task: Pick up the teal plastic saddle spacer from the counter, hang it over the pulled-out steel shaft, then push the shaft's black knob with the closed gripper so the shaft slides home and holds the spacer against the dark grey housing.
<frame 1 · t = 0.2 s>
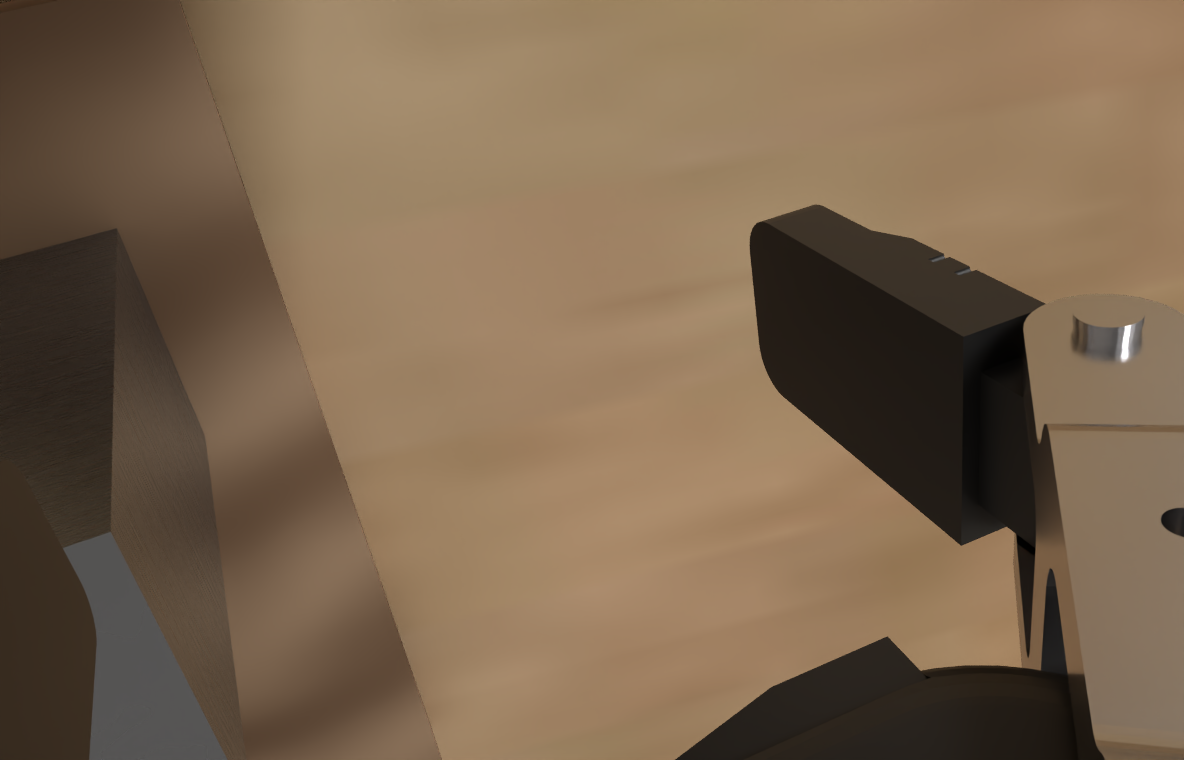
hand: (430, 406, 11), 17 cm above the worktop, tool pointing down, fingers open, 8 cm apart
base board: (42, 528, 29), on the worktop
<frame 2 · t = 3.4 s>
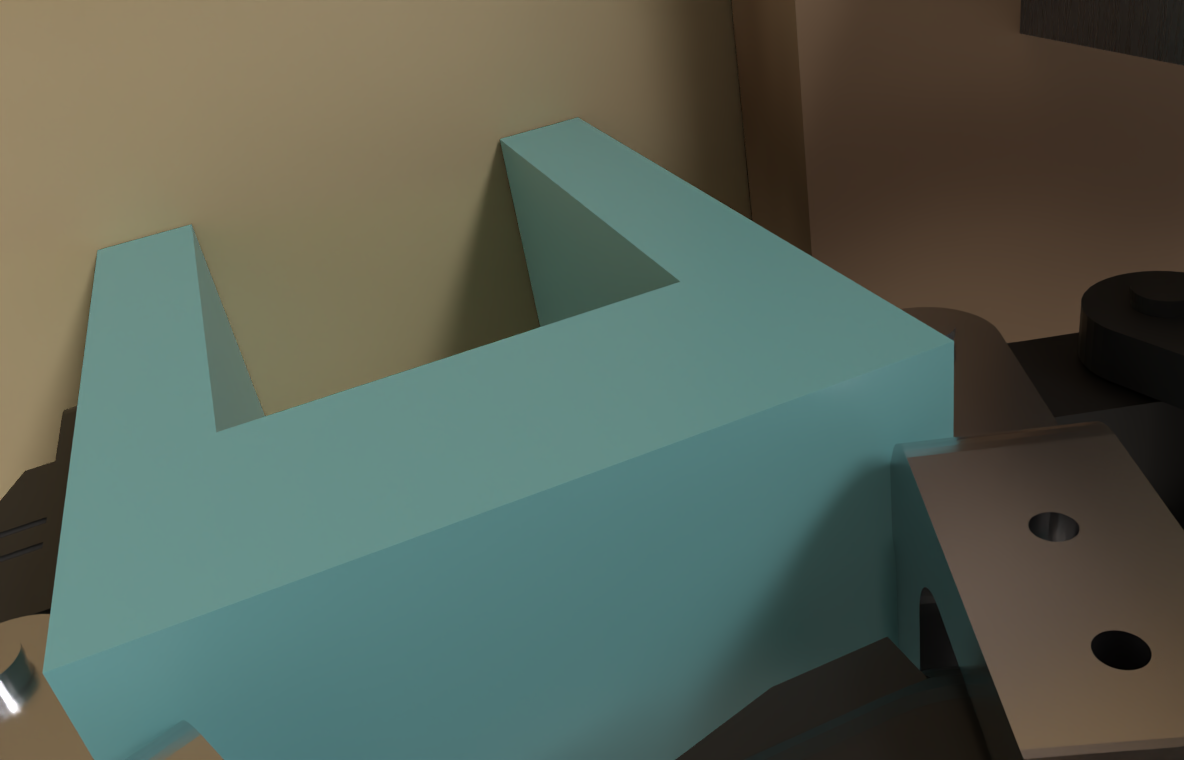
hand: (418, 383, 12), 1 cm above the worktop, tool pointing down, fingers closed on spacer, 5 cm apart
spacer: (396, 333, 13), on the worktop, touching gripper
when the fingers open (7 cm above the worktop, at t = 9.2 s): spacer drops 1 cm, resting on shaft.
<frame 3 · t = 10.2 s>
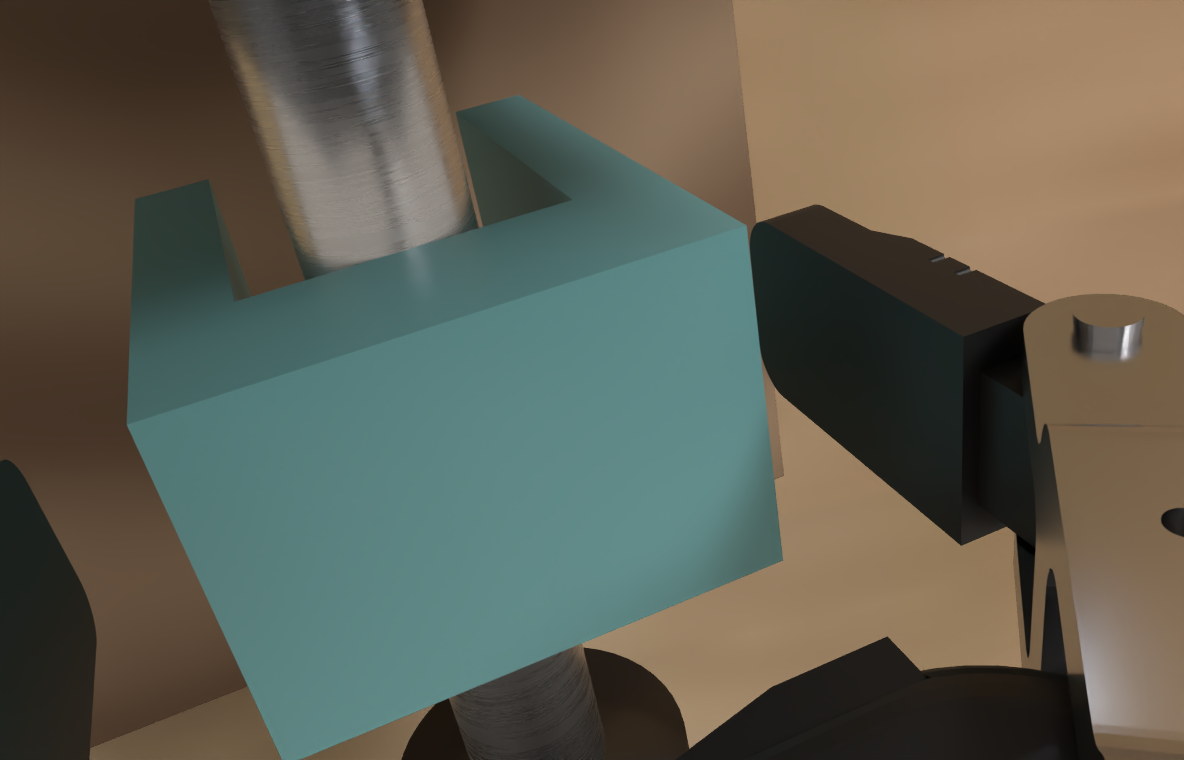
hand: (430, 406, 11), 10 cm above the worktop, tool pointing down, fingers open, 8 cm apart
spacer: (373, 272, 16), point 4 cm above the worktop, touching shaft
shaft: (445, 431, 13), point 9 cm above the worktop, slide at 8.0 cm, touching spacer
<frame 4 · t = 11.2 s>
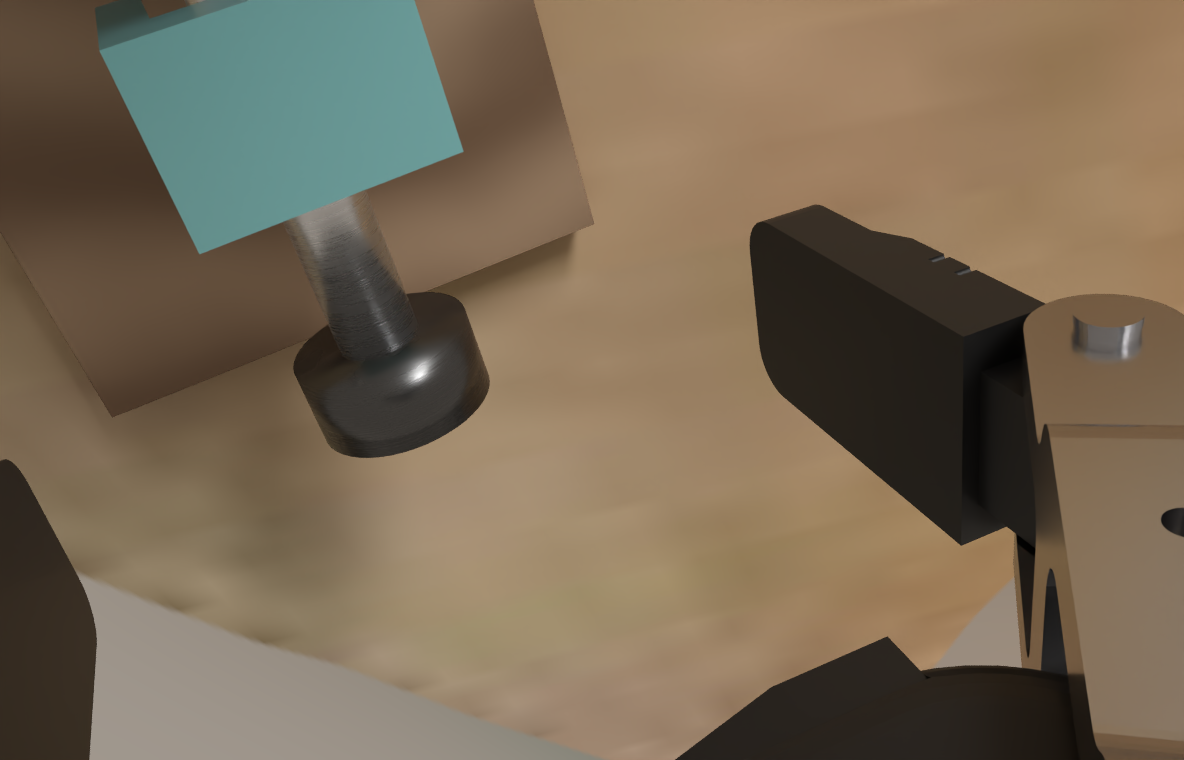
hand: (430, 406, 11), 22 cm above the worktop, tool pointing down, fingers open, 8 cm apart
spacer: (248, 53, 26), point 4 cm above the worktop, touching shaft
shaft: (285, 113, 23), point 9 cm above the worktop, slide at 8.0 cm, touching spacer
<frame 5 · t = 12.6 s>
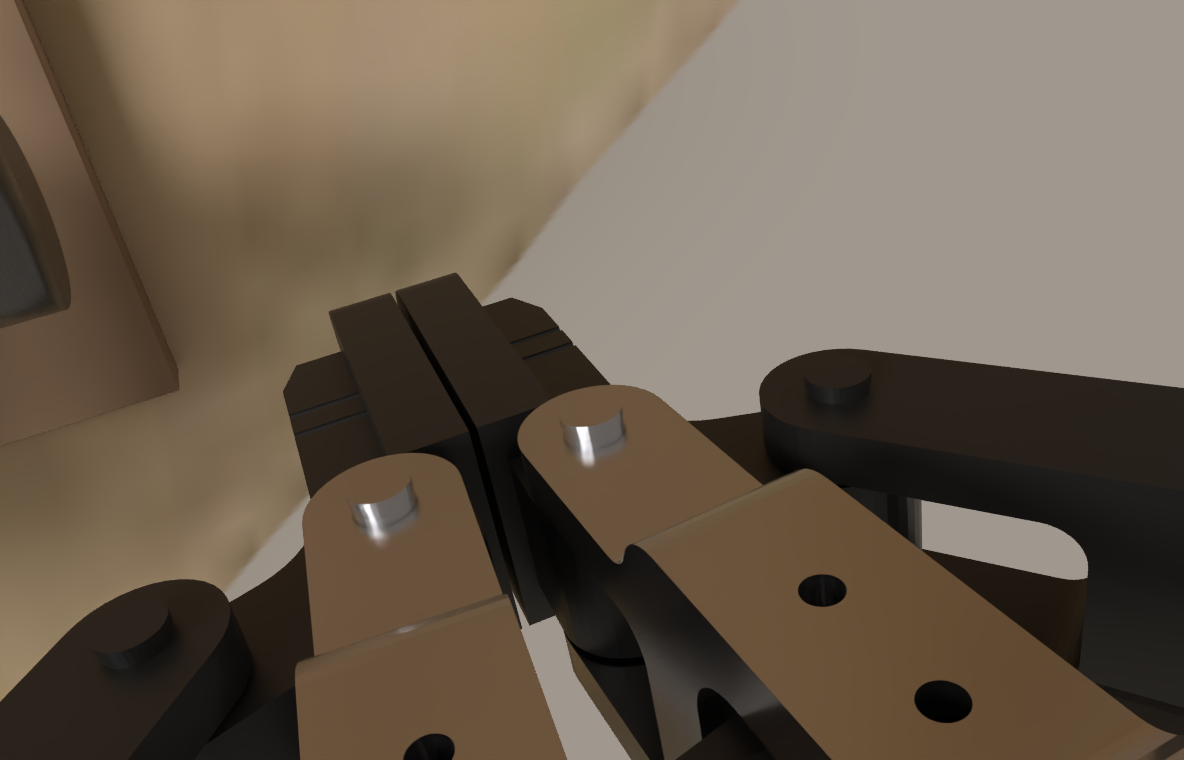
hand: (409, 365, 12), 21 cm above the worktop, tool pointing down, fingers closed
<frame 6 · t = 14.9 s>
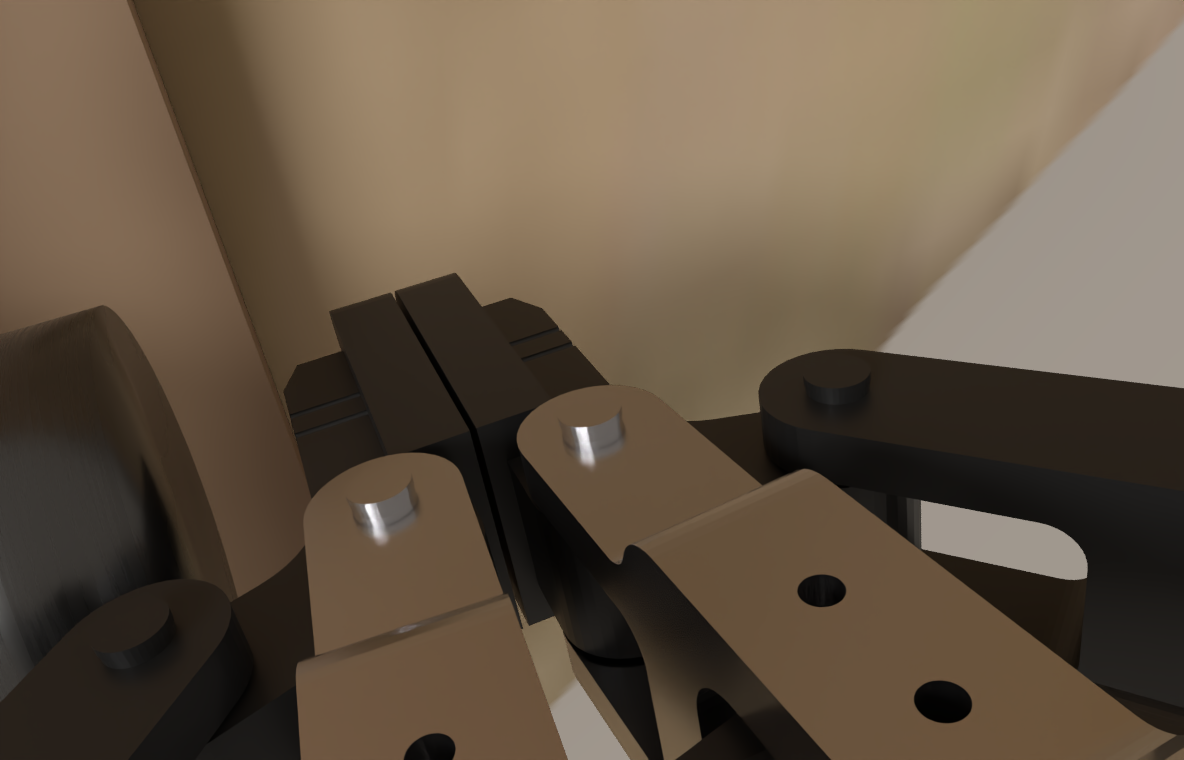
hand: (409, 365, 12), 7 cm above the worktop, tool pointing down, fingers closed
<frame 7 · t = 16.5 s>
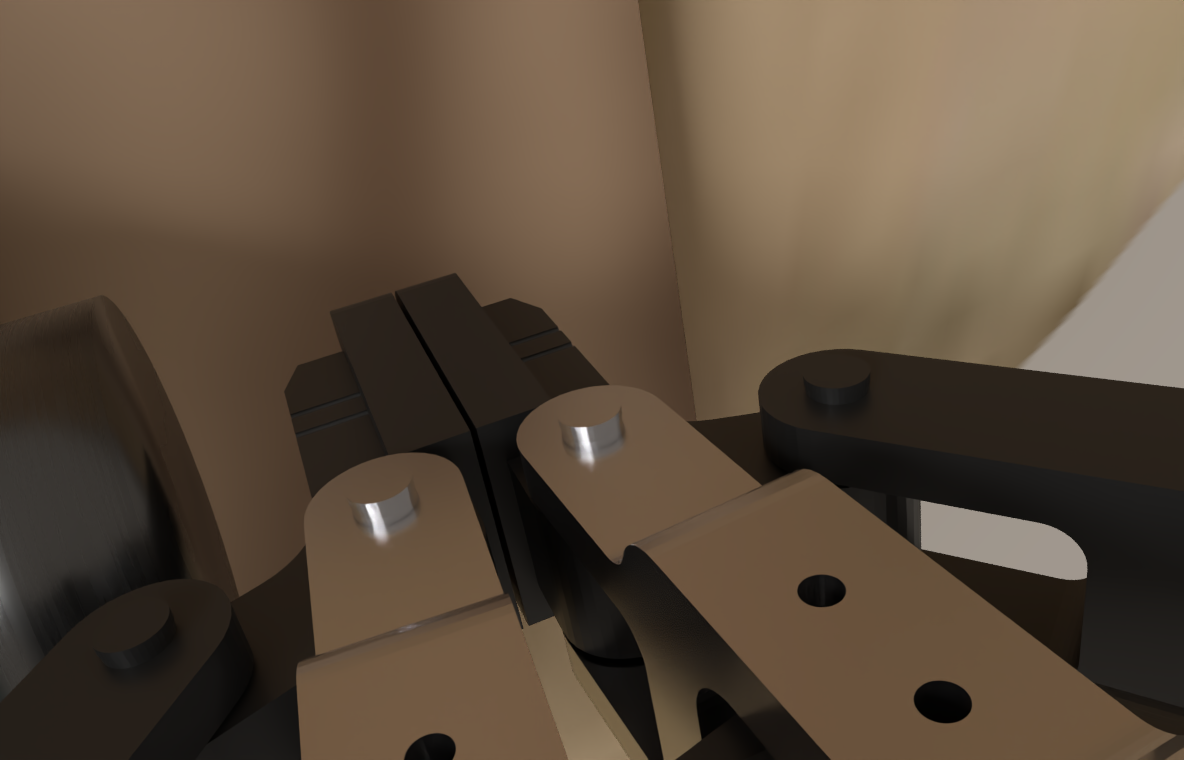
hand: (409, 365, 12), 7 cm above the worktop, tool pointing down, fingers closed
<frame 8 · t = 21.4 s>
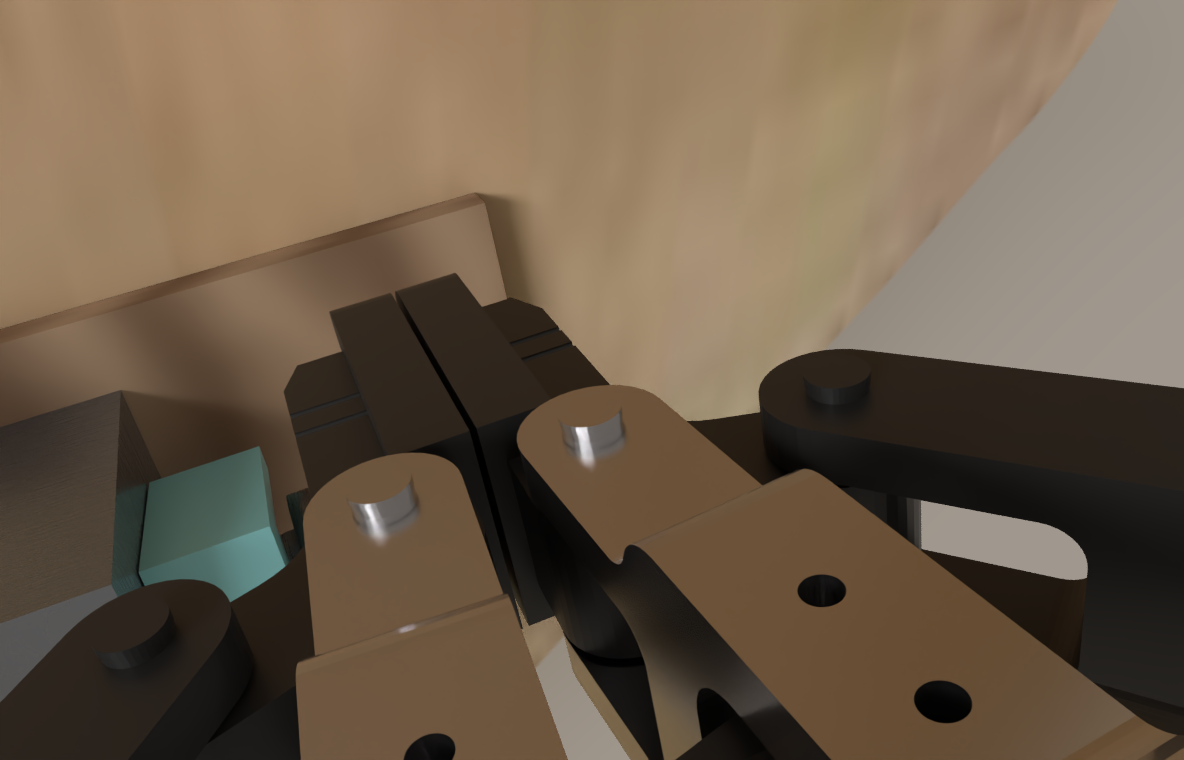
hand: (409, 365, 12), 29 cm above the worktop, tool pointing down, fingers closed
spacer: (231, 528, 39), point 5 cm above the worktop, tilted 7°, touching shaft
housing: (93, 504, 42), resting on base board
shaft: (137, 615, 35), point 9 cm above the worktop, slide at 0.0 cm, touching spacer
base board: (218, 462, 43), on the worktop
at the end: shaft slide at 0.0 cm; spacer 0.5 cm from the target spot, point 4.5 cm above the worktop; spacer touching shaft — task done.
